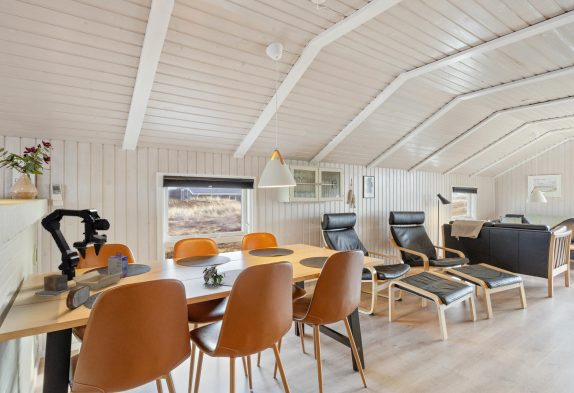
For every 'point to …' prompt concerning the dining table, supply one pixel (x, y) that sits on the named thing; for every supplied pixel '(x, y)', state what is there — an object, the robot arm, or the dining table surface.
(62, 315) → the dining table surface
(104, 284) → the beige tray
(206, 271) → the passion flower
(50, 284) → the walnut block
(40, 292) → the felt pad
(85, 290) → the tin
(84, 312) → the dining table surface
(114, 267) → the ink cartridge box
